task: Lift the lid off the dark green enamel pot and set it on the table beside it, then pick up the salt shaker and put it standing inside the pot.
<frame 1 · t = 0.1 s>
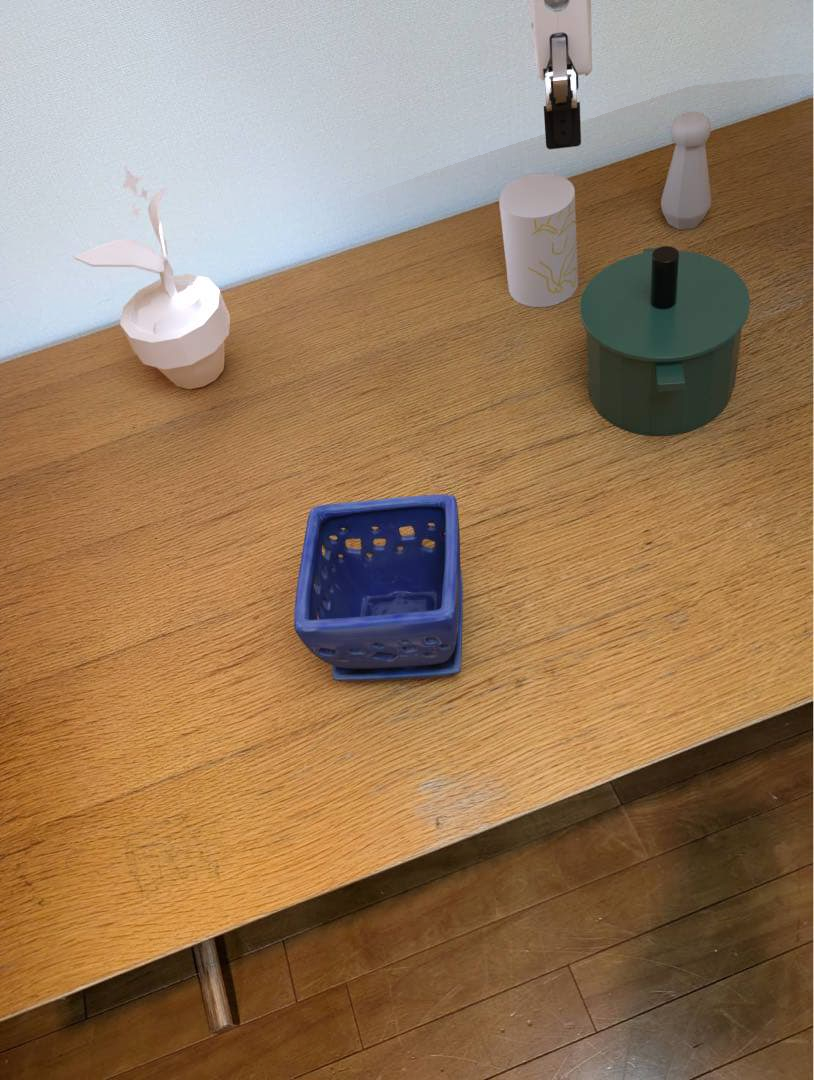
hand: (562, 117, 95), 23 cm above the table, tool pointing down, fingers open, 9 cm apart
flower pot: (401, 635, 90), on the table
lid: (663, 305, 95), point 10 cm above the table, touching pot
white cylinder: (543, 285, 117), on the table
potted plant: (195, 374, 117), on the table
pot: (659, 384, 103), on the table
salt shaker: (684, 220, 120), on the table
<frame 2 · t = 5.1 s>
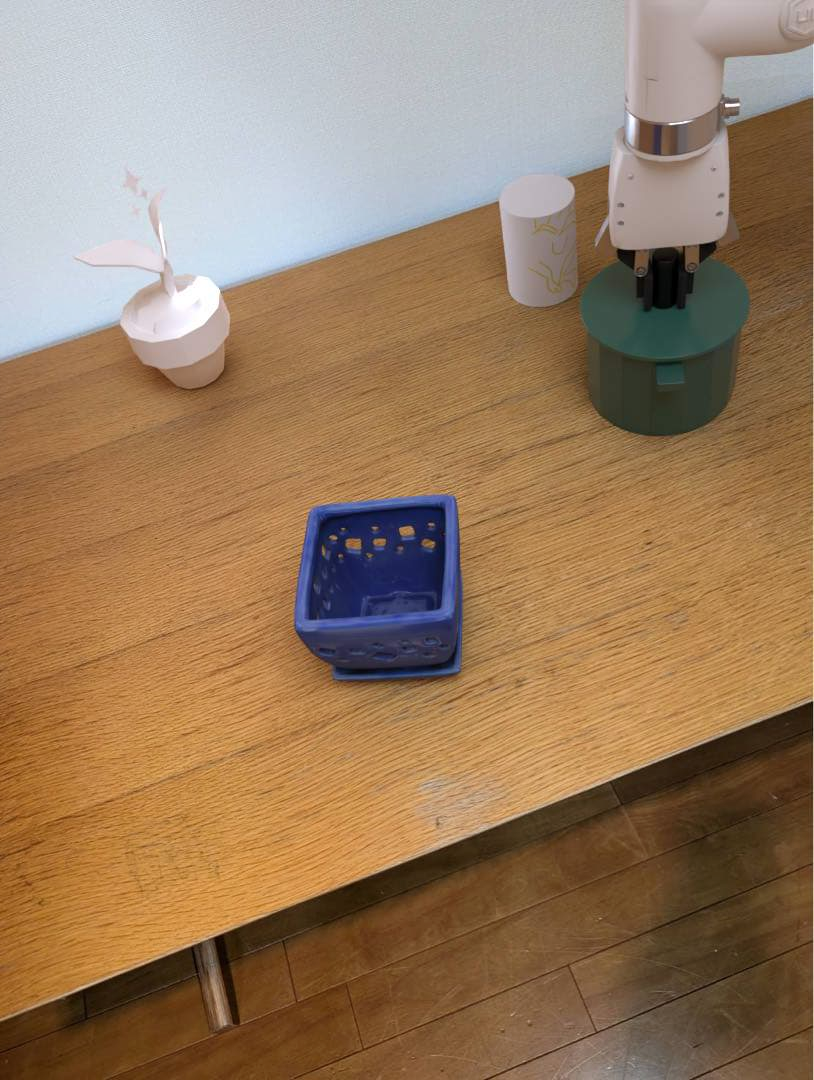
hand: (663, 298, 95), 11 cm above the table, tool pointing down, fingers closed on lid, 2 cm apart
lid: (663, 305, 95), point 11 cm above the table, touching gripper, pot
everything else where it was.
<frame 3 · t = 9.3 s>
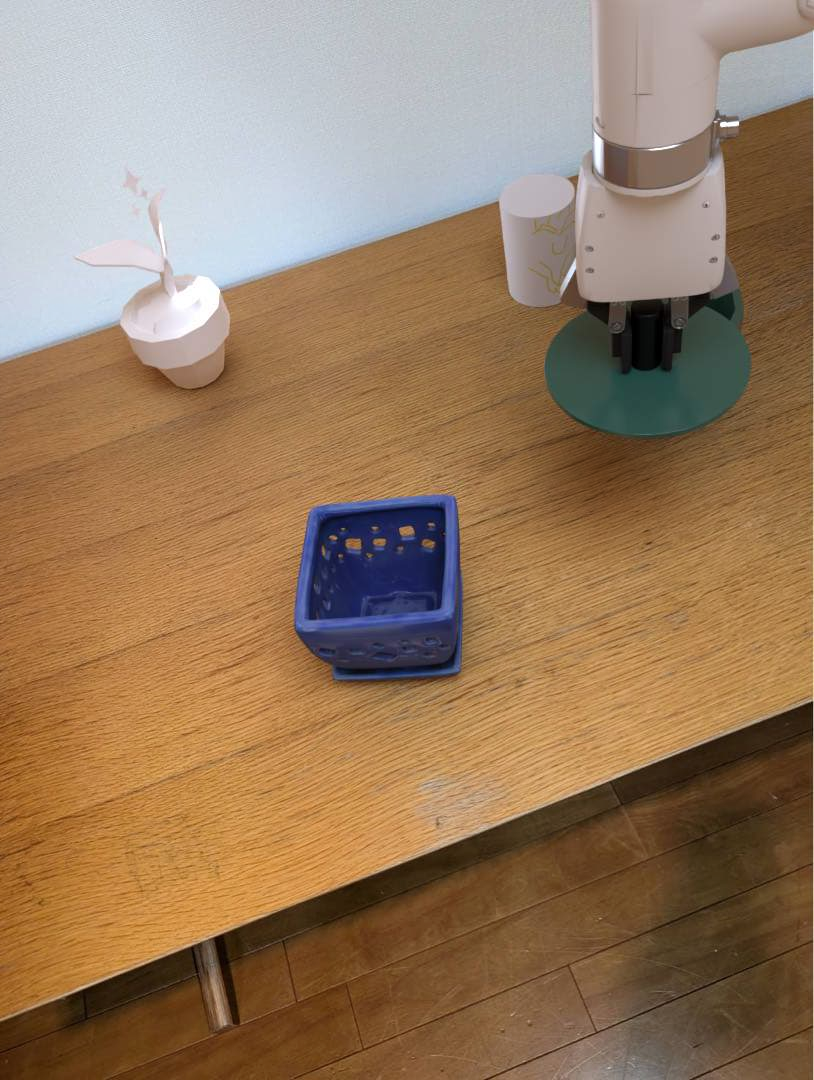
hand: (645, 357, 77), 20 cm above the table, tool pointing down, fingers closed on lid, 2 cm apart
lid: (645, 365, 78), point 20 cm above the table, touching gripper
everything else where it was.
when the fingers open (1 cm above the table, at t = 13.5 s): lid stays where it is, point 1 cm above the table.
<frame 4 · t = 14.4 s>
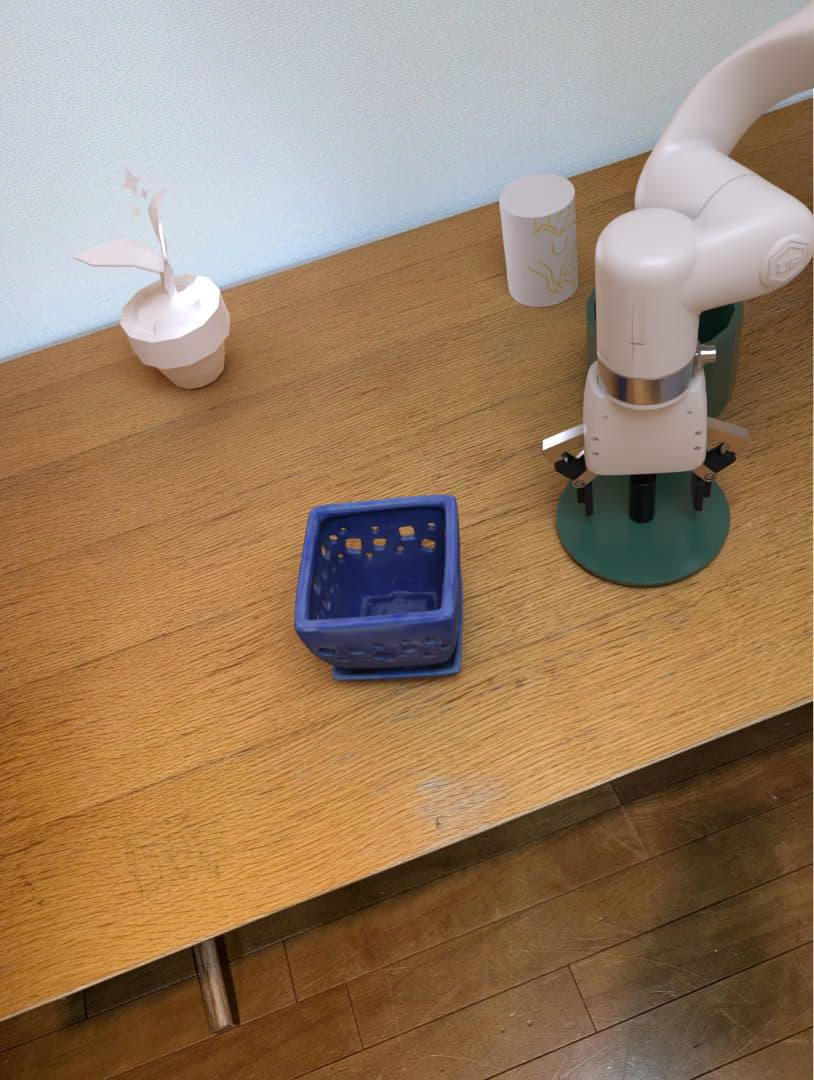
hand: (642, 501, 91), 3 cm above the table, tool pointing down, fingers open, 9 cm apart
lid: (641, 517, 93), point 1 cm above the table
everything else where it was.
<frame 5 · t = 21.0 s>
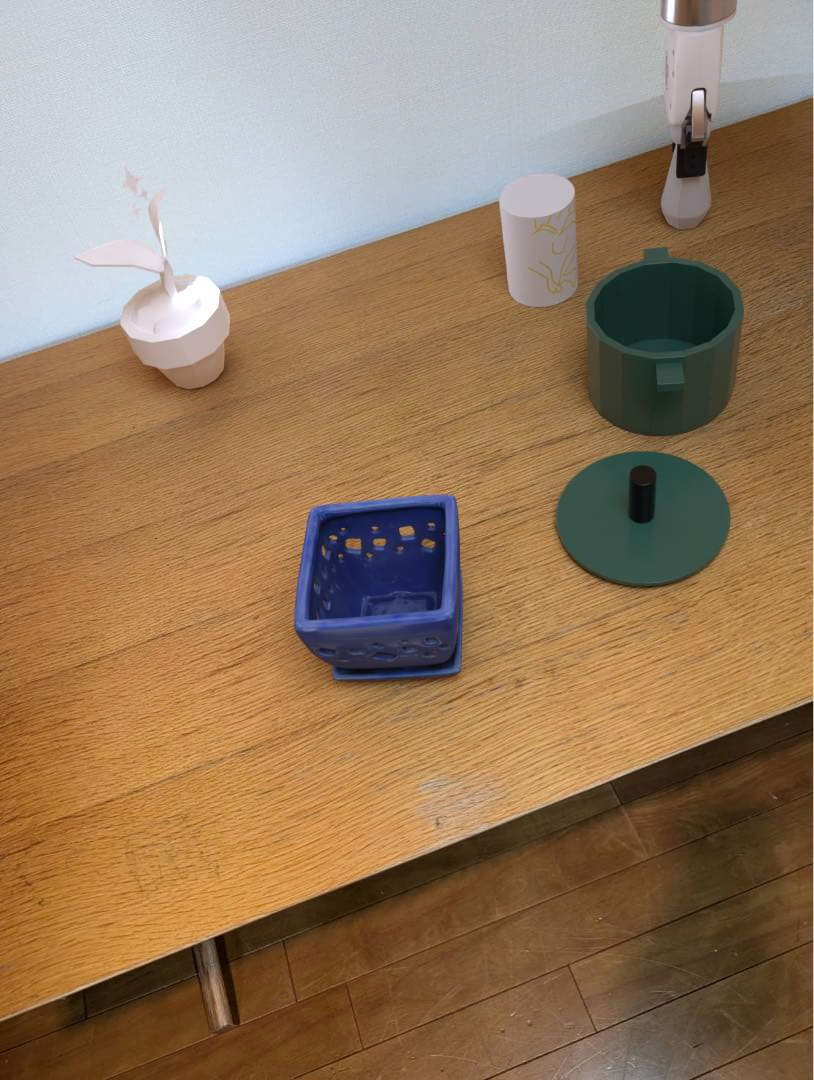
hand: (688, 161, 113), 8 cm above the table, tool pointing down, fingers closed on salt shaker, 4 cm apart
salt shaker: (684, 220, 120), on the table, touching gripper
everything else where it was.
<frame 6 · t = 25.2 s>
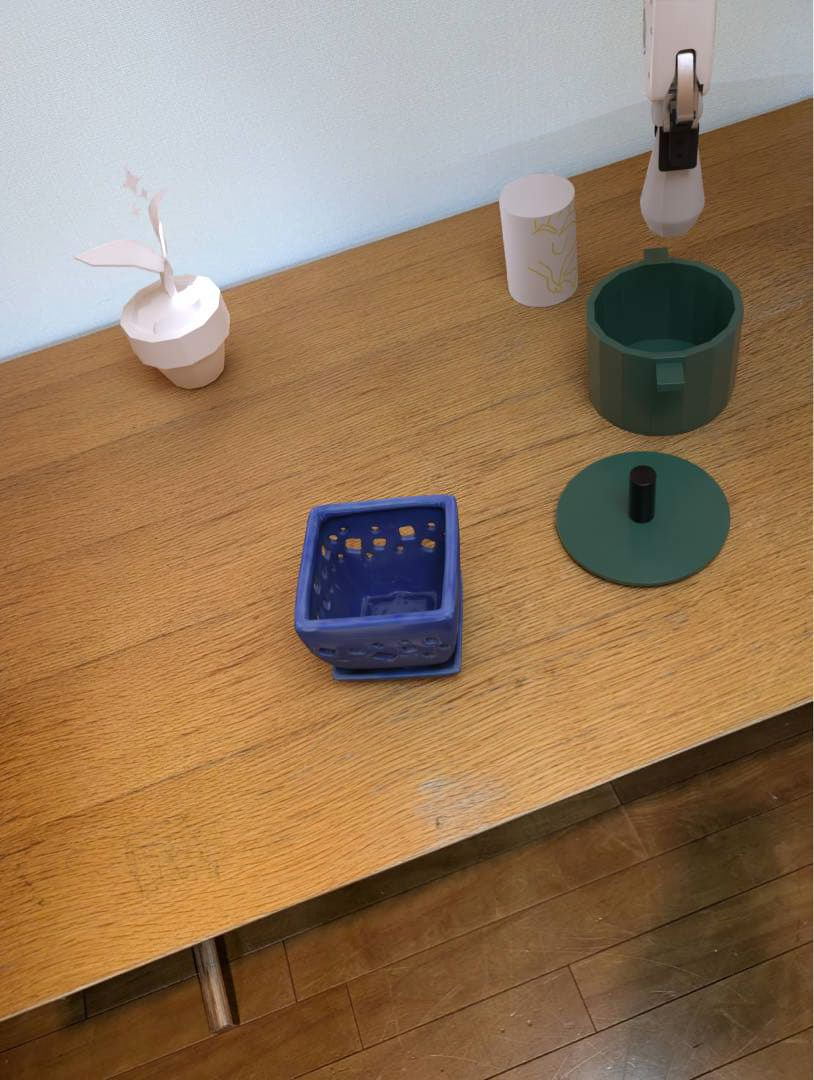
hand: (675, 150, 87), 24 cm above the table, tool pointing down, fingers closed on salt shaker, 4 cm apart
salt shaker: (671, 226, 94), point 16 cm above the table, touching gripper
everything else where it was.
when the fingers open (8 cm above the table, at t = 29.4 s): salt shaker stays where it is, resting on pot.
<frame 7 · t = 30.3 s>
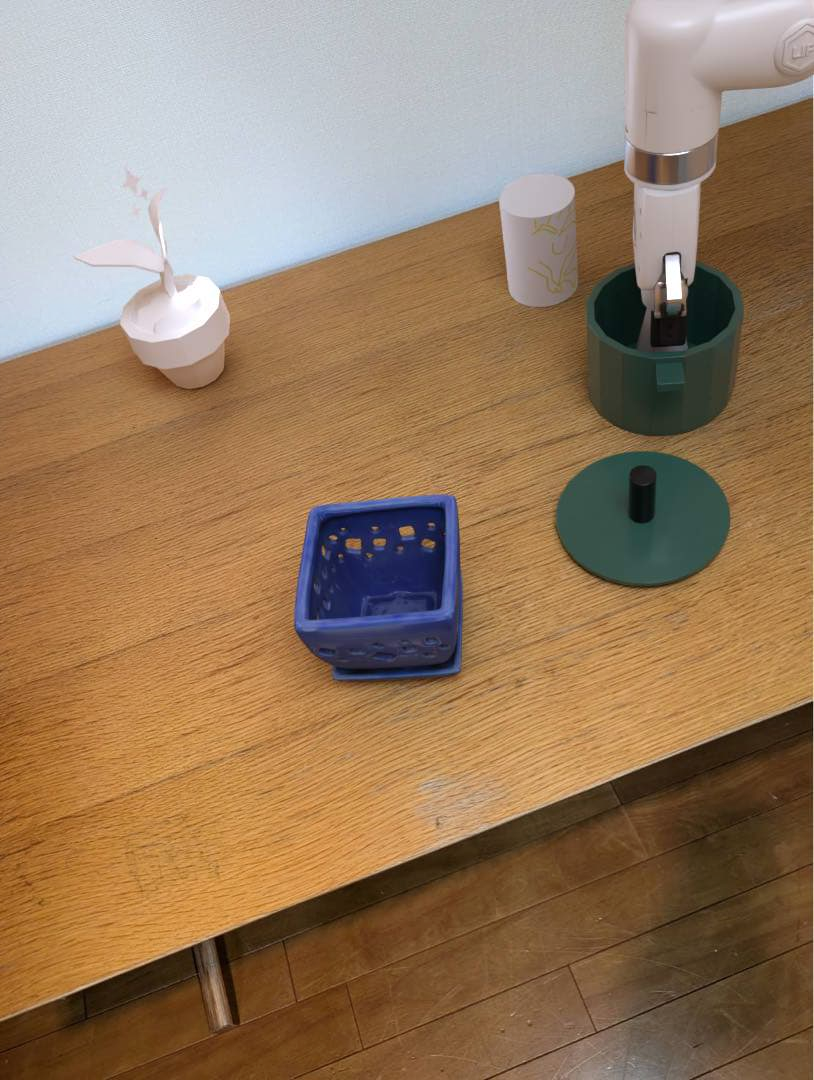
hand: (663, 310, 96), 10 cm above the table, tool pointing down, fingers open, 9 cm apart
salt shaker: (660, 382, 103), resting on pot
everything else where it was.
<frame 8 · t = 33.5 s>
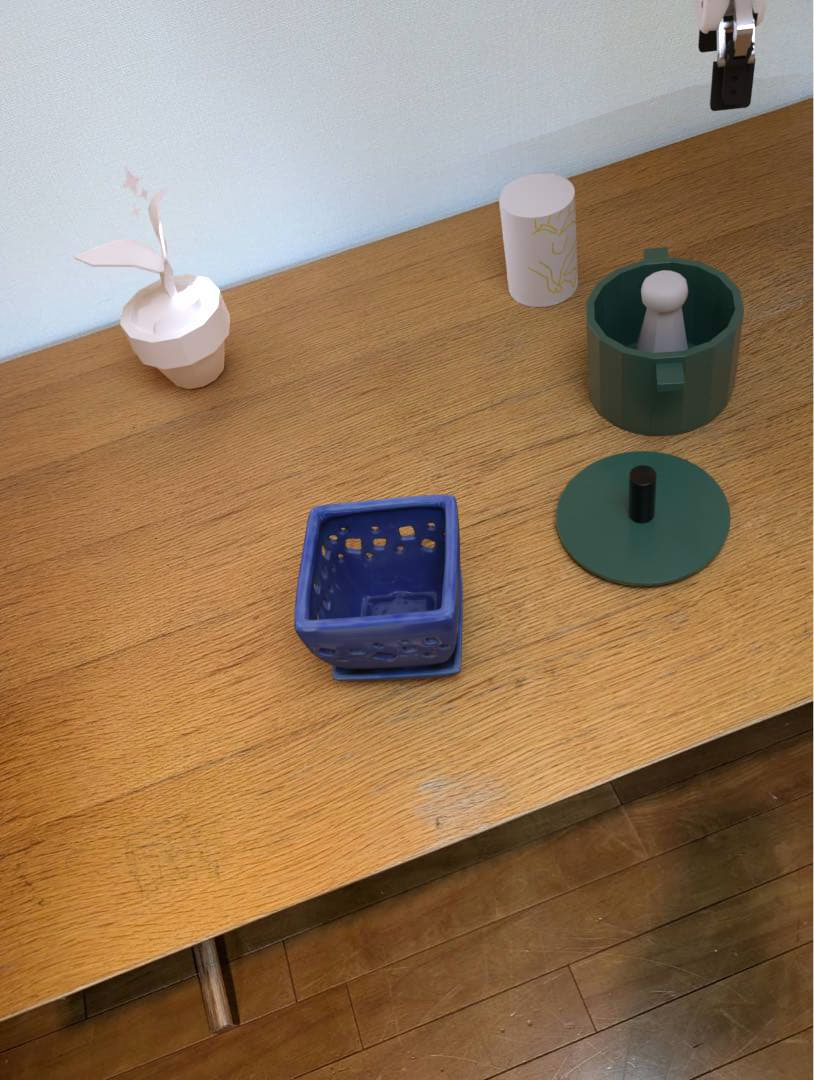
hand: (723, 77, 85), 28 cm above the table, tool pointing down, fingers open, 9 cm apart
nothing on the table moved.
at the end: salt shaker inside the target area in the pot (0.1 cm from its centre), point 0.3 cm above the pot's base; salt shaker tilted 0°; lid inside the target area (0.0 cm from its centre), point 0.6 cm above the table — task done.
